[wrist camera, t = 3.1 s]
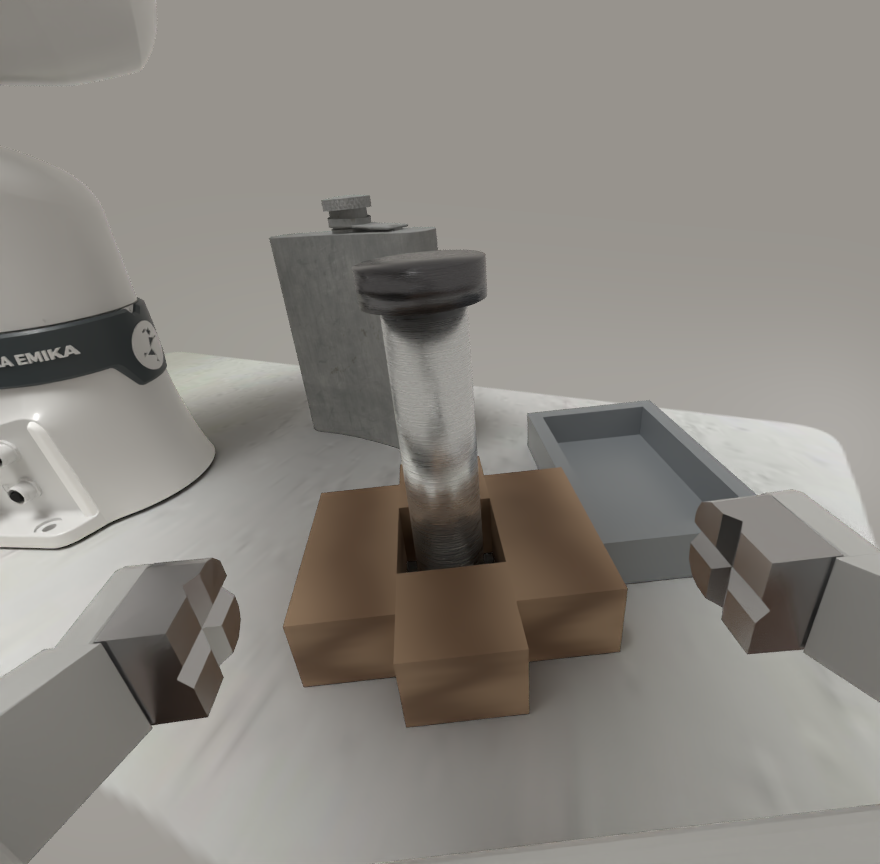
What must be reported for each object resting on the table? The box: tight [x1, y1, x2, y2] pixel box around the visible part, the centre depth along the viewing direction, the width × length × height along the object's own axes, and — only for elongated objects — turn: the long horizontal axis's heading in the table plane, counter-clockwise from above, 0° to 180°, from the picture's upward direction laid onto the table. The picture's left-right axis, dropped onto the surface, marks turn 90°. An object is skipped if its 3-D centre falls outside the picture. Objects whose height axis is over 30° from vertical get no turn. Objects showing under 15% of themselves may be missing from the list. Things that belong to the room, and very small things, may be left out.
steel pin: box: [352, 250, 487, 571], centre depth 23 cm, size 5×5×18 cm
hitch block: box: [283, 456, 628, 727], centre depth 26 cm, size 15×15×4 cm
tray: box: [527, 400, 756, 584], centre depth 32 cm, size 10×16×3 cm, turn 3°
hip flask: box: [269, 195, 438, 449], centre depth 40 cm, size 16×4×20 cm, turn 57°
